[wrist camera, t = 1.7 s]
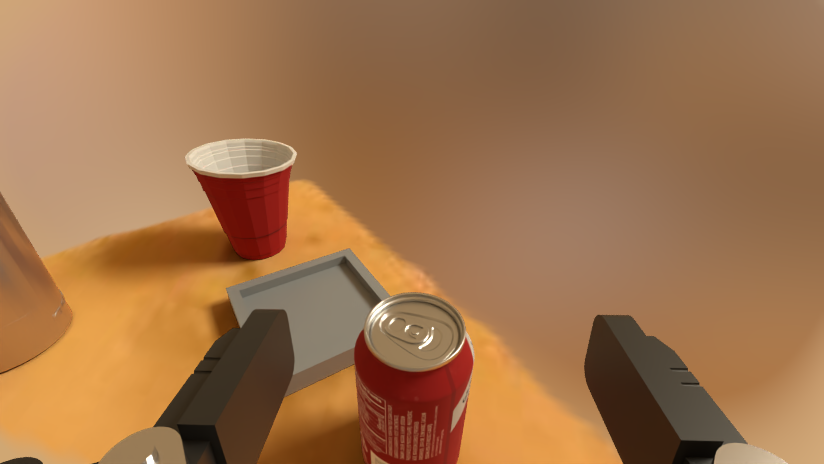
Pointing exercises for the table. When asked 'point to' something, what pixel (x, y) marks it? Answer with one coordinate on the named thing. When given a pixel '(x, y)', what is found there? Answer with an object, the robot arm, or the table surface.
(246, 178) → the plastic cup
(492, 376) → the table surface
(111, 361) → the table surface
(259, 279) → the serving tray
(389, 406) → the soda can
